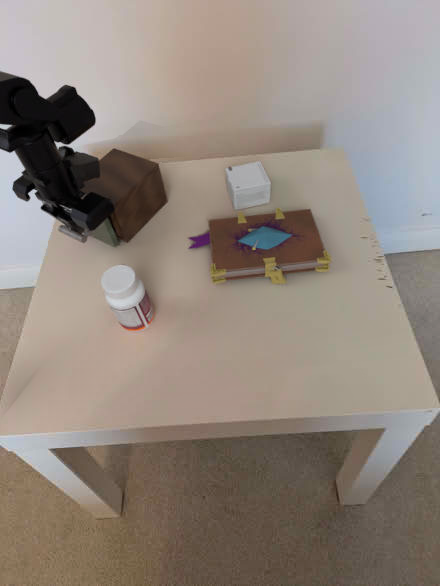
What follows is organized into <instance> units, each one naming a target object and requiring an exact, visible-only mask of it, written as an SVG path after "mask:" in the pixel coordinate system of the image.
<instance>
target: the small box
mask: <svg viewBox="0 0 440 586" xmlns="http://www.w3.org/2000/svg"><path fill="white" fill-rule="evenodd" d="M224 171H225V185H226V186H225V187H226V190H227V193H228V196H229V198H230V201H231V204H232V206H233V207H232V208H233V209H234V211H238V210H245V209H248V208H253V207H256V206H262V205H268V204H270V203H271V190H272V189H271V188H272V187H271V186H272V182H271V180H270V178H269V176H268V174H267V172H266V169H265V168H264V166H263V164H262V162H261V160H259V161H253V162H249V163H244V164H239V165H234V166H228V167H225V170H224Z"/></svg>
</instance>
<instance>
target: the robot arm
mask: <svg viewBox="0 0 440 586" xmlns="http://www.w3.org/2000/svg"><path fill="white" fill-rule="evenodd" d="M95 114H96V113H95V112H94V110H93V108H91V106H90V105H89V104H88V102H87V101H86V100H85V99H84V98H83V97H82V96H81V95H80V94H79V93H78V91H77V88H76V87H75V86H73V85H68V84H63V85H62V86H60V88H59V89H58V90H57V91H56V92H54V93H53V94H51V95H50V96H48V97H47V98H45V97H43V96H42V95H40V94H39V91H38V90H37V88H36V86H35V85H34V84H33V83H32V82H31V80H30V79H28V78H25V77H22V76H19V75H15V74H11V73H9V72H4V71H2V70H0V125H5V126H9V127H7V128H2V127H0V150H2V151H4V152H6V153H9V154H11V153H13V152H14V154H15V155H16V157H17V158H18V160H19V162H20V163H21V165H22V167H23V168H24V170H23V171H21V174H22V175H20V176H19V177H18V178H17V179H16V180H14V181H13V182H12V188H11V189H12V192H14V194H15V196H16V197H17V198H18V199H20V200H22V201H24V202H27V203H28V202H30V201H31V196H30V194H29V193H31V192H32V191H34V190H35V192H34V196H35V197H36V199H37V200H38V201H40V202H41V203H42V205H41V206H40V210H41V211H42V212H45V213H46V214H47V215H49V216H50V217H52V218H54V219H55V220H56V221H58V222H60V223H61V224H62V225H66V226H68V228H70V229H72V230H74V231H77V232H79V233H81V234H84V233H83V232H84V231H85V229H87V230H89V231H92V230H95V229H96V228H97V227H98V226H99V225H100V224H101V223H103V222H104V221H105V220H106V219H107V218H108V217H109V216H110V215H111V214H112V213H113V212H114V211H115V206H114V203H113V201H112V199H111V198H109V197H106V196H104V195H101V194H99V193H96V192H90V193H89V194H88V195H87V194H86V193H85V192H82V191H80V190H81V189H82V188H84V187H85V185H84V183H83V182H85V181H88V180H91V179H94V178H96V179H97V178H99V177H100V168H99V160H100V159H99V158H98V157H97V156H94V155H91V154H88V153H86V152H80V151H78V150H74V149H73V148H72V147H70V146H69V145H70V144H72V143H74V142H75V141H76V140H77V139H78V138H80V137H81V136H83V135H84V134H85V133H87V132H89V130H90V129H92V128H93V127H94V126H95V125H96V123H97V118H96V115H95ZM56 143H61V144H62V145H61V146H59V147H58V146H57V144H56Z"/></svg>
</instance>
